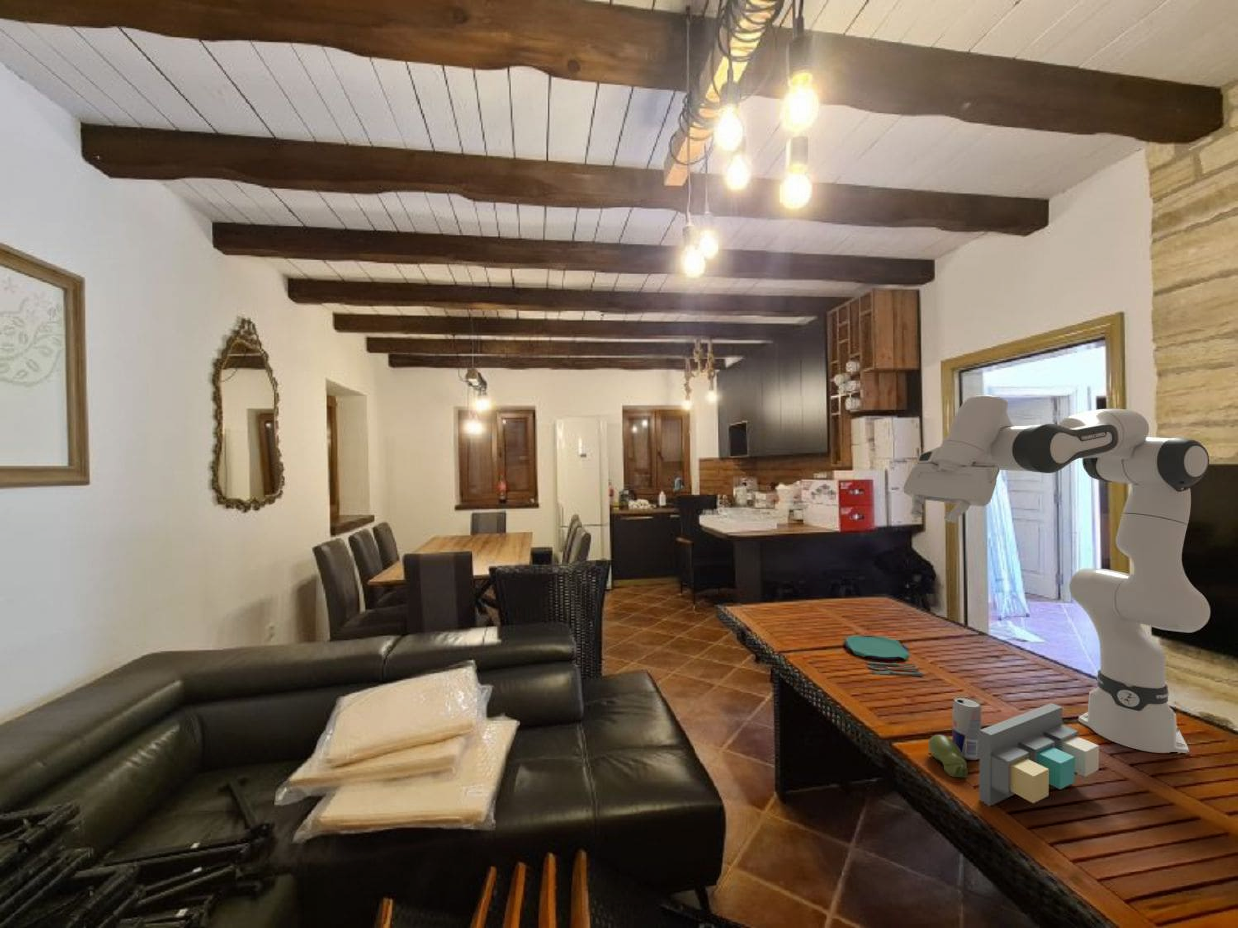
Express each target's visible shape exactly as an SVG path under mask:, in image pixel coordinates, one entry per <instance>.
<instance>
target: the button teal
mask: <svg viewBox="0 0 1238 928" xmlns="http://www.w3.org/2000/svg"><path fill="white" fill-rule="evenodd" d="M1037 764H1039V765H1041V766H1043V767H1046V768H1048V769H1049V786H1050V785H1051V786H1053V787H1055V788H1057V789H1058V790H1062V789H1064V788H1066V787H1068V786H1070V785H1072V784H1074V783H1075V776H1076V775H1075V774H1076V772H1075V757H1074V756H1072V755H1069V754H1067V753H1065V752H1063V751H1060V750H1058V749H1056V748H1054V747H1051V746H1050V747H1048V748H1045V749H1043V750H1041V751H1039V752H1037Z"/></svg>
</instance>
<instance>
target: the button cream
mask: <svg viewBox="0 0 1238 928" xmlns="http://www.w3.org/2000/svg"><path fill="white" fill-rule="evenodd" d="M1062 751H1063V752H1065V753H1067V754H1069V755H1072V756H1074V757H1075V774H1076V773H1077V774H1078V775H1081V776H1082V777H1088V776H1089V775H1091V774H1093V773H1095V772H1097V771H1099V762H1100V761H1099V759H1100V758H1099V756H1100V755H1099V754H1100V746H1099V744H1096V743H1094V742H1091V741H1090V740H1087V739H1084V738H1081V737H1080V736H1079V737H1077V736H1072V737H1070V738H1068V739H1066V740H1063V741H1062Z"/></svg>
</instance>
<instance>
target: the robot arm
mask: <svg viewBox="0 0 1238 928" xmlns="http://www.w3.org/2000/svg"><path fill="white" fill-rule="evenodd" d="M1008 404H1009V403H1008V401H1007V400H1006V399H1004V398H1002V397H1000V396H996V395H990V394H979V395H972V396H969V397H967V399H965V400H964V402H962V404H961V406H960V407H959V408H958V410H957V412H956V414H955V415H954V417H953V419H952V421H951V424H950V426H949V431H948V434H947V436H946V437H945V438H944V440H942V443H941V445H940V446H938V447H935V448H934V449H931V450H928V451H925V452H922V453H920V454H918V455H917V457H916V460H915V462H916V463H917V464H916V465H914V466H913V467H912V468H911V470H910V472H909V474H908V475H907V478H906V480H905V483H904V484H903V487H902V488H903V489H902V490H903V492H904V495H905V494H906V495H907V496H909V497H910V498H911V500H912V508H911V510H910V515H911V516H913V517H916V518H917V517H918V518H921V517H922V516H923V513H924V510H923V509H922V507H923V506H922V504H923V505H924V504H925V502H926V501H932V502H939V503H940V502H941V503H949V504H954V505H955V506H954V508H952V509H951V510H950V511H946V513H945V515H944V521H947V522H948V523H953V524H956V523H957V522H958V520H959V518H960V516H962V515H964V514H965V512H967V511H969V509H970V507H971V506H975V507H982V508H983V507H986V506H987V505H989V503H991V500H992V497H993V495H994V492H995V489H996V485H997V481H998V480H997V478H998V476H999V475H1000V471H1019V472H1033V473H1040V474H1041V473H1043V474H1054V473H1056V472H1059V471H1061V470H1062V469H1064V468H1065V467H1066V466H1068V465H1069V464H1071V463H1072V462H1074V461H1075V460H1078V459H1082V461H1081V462H1082V467H1083V469H1084V471H1085V472H1086V474H1087V475H1088V476H1089V477H1090V478H1092V479H1094V480H1096V481H1097V480H1098V481H1102V482H1105V483H1106V482H1107V483H1113V482H1115V483H1121V484H1129V485H1131V488H1132V489H1131V490H1130V491H1129V492H1130V493H1128V497H1127V499H1126V501H1125V504H1124V506H1123V511H1122V512H1121V513H1122V514H1121V518H1120V520H1119V525H1118V528H1117V532H1116V536H1115V545H1116V548H1117V549H1118V550H1119V551H1120V552H1121V553H1122V554H1124V555H1125V557H1128V558H1129V559H1130V560H1131V561H1132V564H1133V574H1132V573H1128V572H1122V571H1119V570H1118V571H1117V570H1112V569H1107V568H1082V569H1079V570H1078V571H1076V572H1075V573H1074V574H1073V575H1072V576H1071V579H1070V580H1069V587H1068V589H1069V592H1070V595H1071V597H1072V599H1073V600H1074V601H1075V603H1077V604H1078V605H1079V606H1080V607H1081V608H1082V609H1083V610H1084V611H1085V613H1086V614H1087V615H1088V618H1089V619H1090V621H1091V622H1092V624H1093V627H1094V628H1095V631H1096V634H1097V637H1098V642H1099V656H1100V658H1099V662H1100V665H1099V666H1100V669H1099V670H1098V671H1097V675H1096V680H1097V687H1096V688H1095V689H1092V690H1091V691H1089V694H1088V705H1087V707H1088V708H1087V711H1086V712H1085V713H1083V714H1081V715H1079V716H1078V719H1077V720H1078V722H1080V723H1081V724H1082V725H1084V726H1087V727H1088V728H1089V729H1091V730H1093V732H1094V733H1096V734H1098V735H1099V736H1100V737H1101V736H1102V737H1103V738H1104V739H1107V740H1109V741H1111V742H1114V743H1116V744H1118V745H1122V746H1125V747H1128V748H1130V749H1136V750H1138V751H1143V752H1149V753H1158V754H1159V753H1160V754H1167V753H1170V752H1178V753H1177V754H1180V753H1181V752H1182V753H1187V752H1189V753H1190V749H1189V747H1188V744H1187V743H1186V741H1185V739H1184V737H1183V735H1182V733H1181V730H1180V729H1179V727H1178V725H1177V714H1176V713H1175V712H1174V710H1173V709H1172V708H1171V707H1170V705H1169V704H1168V701H1169V695H1170V694H1169V693H1170V691H1169V689H1168V687H1169V686H1168V685H1167V684H1166V667H1167V656H1166V653H1165V650H1164V649H1163V648H1162V646H1161V645H1160V644H1159V643H1158V642H1156V641H1155V640H1154V639H1153V638H1151V637H1150V636H1149V635H1148V634H1147V633H1146V631H1145V630H1144V629H1143V627H1142V625H1145V626H1147V627H1148V626H1149V627H1152V628H1155V629H1159V630H1163V631H1171V632H1179V633H1194V632H1197V631H1200V630H1201V629H1202V628H1203V627H1204V626H1205V625H1207V624H1208V622H1209V620H1210V617H1211V606H1210V604H1209V602H1208V600H1207V598H1206V597H1205V595H1203V594H1202V593H1201V592H1200V591H1199V590H1198V589H1197V588H1196V587H1194V585H1193V584H1192V583H1191V582H1190V580H1189V578H1188V577H1187V575H1186V572H1185V568H1184V566H1183V562H1182V561H1183V560H1182V559H1183V557H1182V556H1183V555H1182V554H1183V548H1184V542H1185V537H1186V532H1187V529H1188V526H1189V525H1188V524H1189V521H1190V516H1191V505H1192V497H1191V495H1192V494H1191V493H1192V492H1191V488H1192V487H1193V486H1194V485H1195V484H1196V483H1198V482H1199V481H1200V480H1201V479H1202V478H1203V477H1204V475H1206V473H1207V471H1208V469H1209V466H1210V455H1209V453H1208V451H1207V449H1206V448H1205V447H1204V445H1203V444H1202V443H1201V442H1199V441H1198V440H1194V439H1191V438H1184V437H1172V438H1168V437H1156V436H1155V437H1151V436H1150V437H1149V436H1148V435H1149V432H1150V426H1149V423H1148V420H1147V419H1146V418H1145V416H1144V415H1142V414H1140V413H1139V412H1137V411H1134V410H1131V409H1125V408H1123V409H1122V408H1100V409H1099V408H1098V409H1092V410H1086V411H1080V412H1078V413H1074V414H1070V415H1069V416H1067V417H1064V418H1063V419H1061V420H1060V421H1059V422H1058V424H1057V423H1043V424H1034V425H1017V426H1016V425H1015V426H1014V424H1013V423H1012V422H1011V420H1010V417H1009V416H1008Z"/></svg>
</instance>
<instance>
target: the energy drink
mask: <svg viewBox="0 0 1238 928" xmlns="http://www.w3.org/2000/svg"><path fill="white" fill-rule="evenodd" d="M981 729H982V707H981V703H980V702H979V701H977V700H975V699H973V698H971V697H967V696H956V697H954V698H953V700H952V741H953V742H954V743H955V744H956V745H957V746H958V747H959V749H960V751H961V754H962V758H963V759H964V760H969V761H977V760H980V730H981Z"/></svg>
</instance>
